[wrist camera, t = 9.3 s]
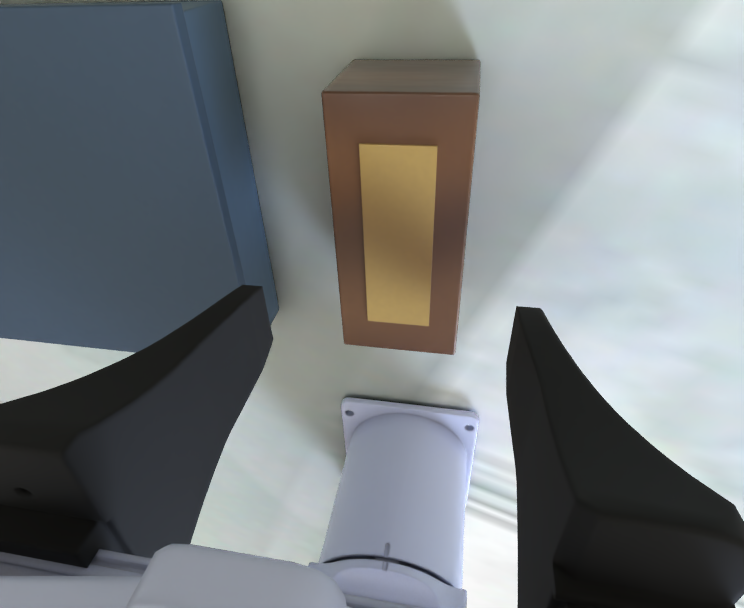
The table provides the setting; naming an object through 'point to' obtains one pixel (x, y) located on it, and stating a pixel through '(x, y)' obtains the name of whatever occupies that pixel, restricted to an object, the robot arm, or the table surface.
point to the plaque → (401, 197)
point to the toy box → (122, 173)
